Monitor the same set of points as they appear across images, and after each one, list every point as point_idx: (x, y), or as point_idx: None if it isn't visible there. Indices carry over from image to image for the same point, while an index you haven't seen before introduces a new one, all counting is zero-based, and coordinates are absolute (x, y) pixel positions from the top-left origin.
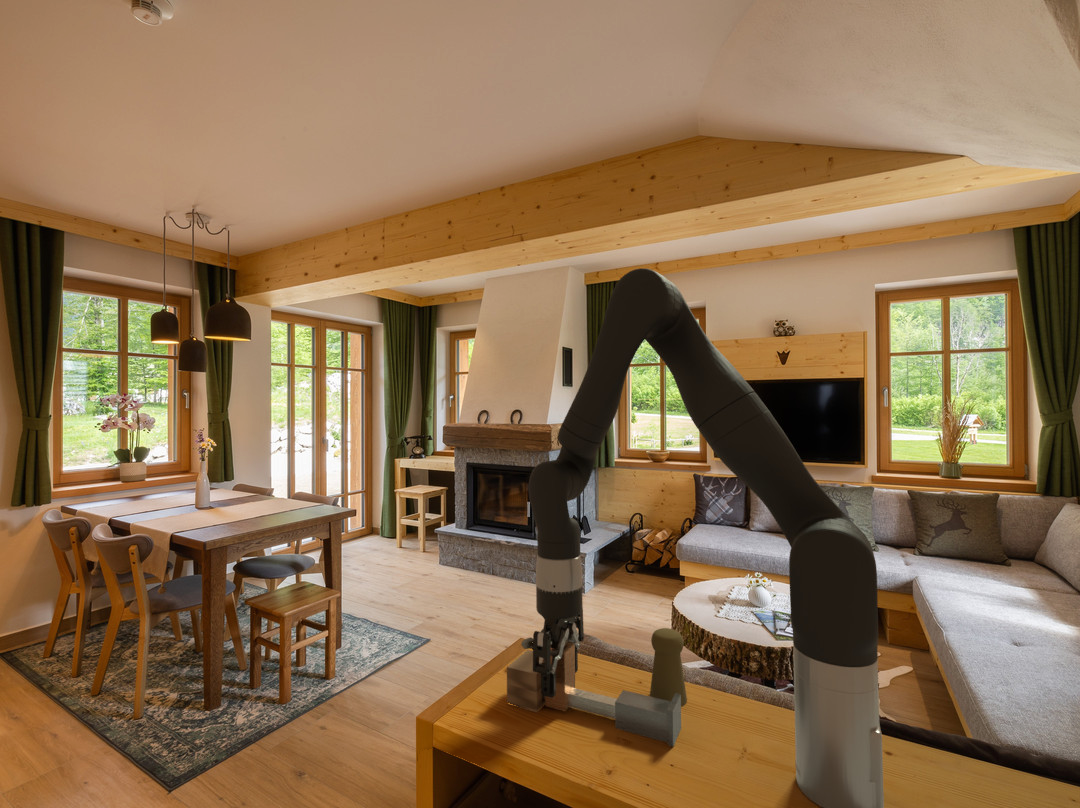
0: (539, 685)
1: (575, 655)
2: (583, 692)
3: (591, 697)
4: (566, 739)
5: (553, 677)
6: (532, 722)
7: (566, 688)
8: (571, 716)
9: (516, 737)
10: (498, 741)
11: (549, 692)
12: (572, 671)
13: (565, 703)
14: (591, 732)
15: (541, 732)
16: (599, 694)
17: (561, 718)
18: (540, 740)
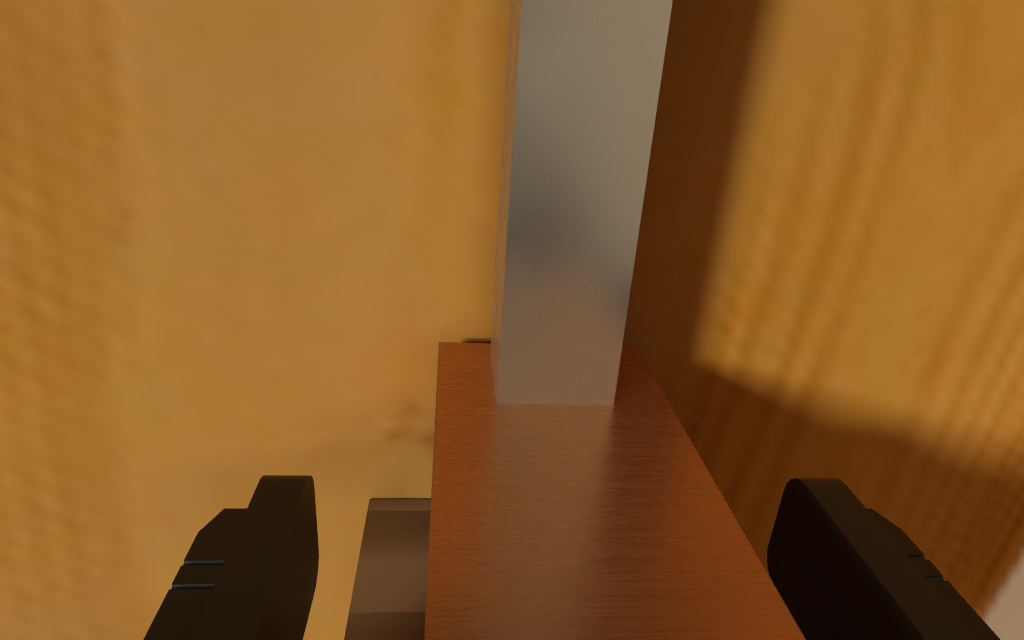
0: None
1: (261, 633)
2: (544, 284)
3: (609, 176)
4: (919, 216)
5: (960, 622)
6: (776, 476)
7: (655, 437)
8: (635, 288)
9: (941, 487)
10: (988, 545)
11: (902, 531)
12: (509, 507)
13: (644, 373)
14: (800, 69)
15: (869, 390)
16: (515, 115)
17: (681, 341)
18: (952, 362)
